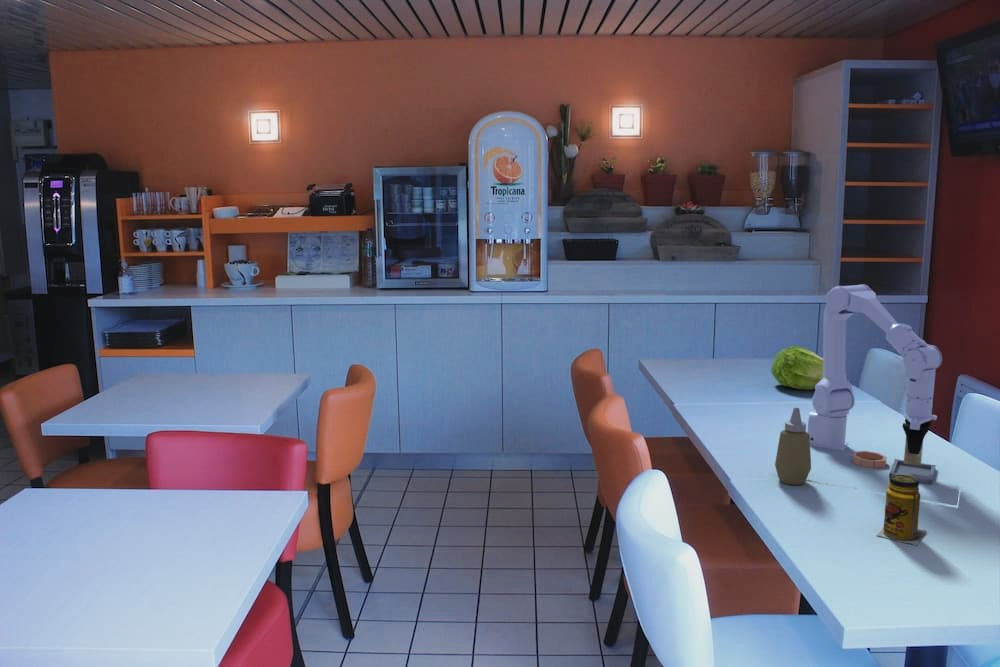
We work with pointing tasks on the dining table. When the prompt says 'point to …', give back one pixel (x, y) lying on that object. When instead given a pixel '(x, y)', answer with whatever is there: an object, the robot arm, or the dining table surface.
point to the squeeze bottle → (793, 451)
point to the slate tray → (914, 471)
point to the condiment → (902, 510)
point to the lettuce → (798, 368)
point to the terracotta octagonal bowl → (869, 459)
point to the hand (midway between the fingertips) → (914, 451)
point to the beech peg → (912, 456)
